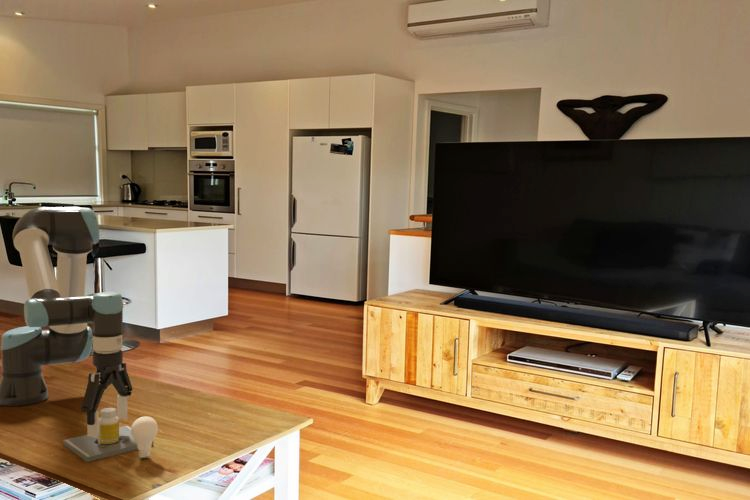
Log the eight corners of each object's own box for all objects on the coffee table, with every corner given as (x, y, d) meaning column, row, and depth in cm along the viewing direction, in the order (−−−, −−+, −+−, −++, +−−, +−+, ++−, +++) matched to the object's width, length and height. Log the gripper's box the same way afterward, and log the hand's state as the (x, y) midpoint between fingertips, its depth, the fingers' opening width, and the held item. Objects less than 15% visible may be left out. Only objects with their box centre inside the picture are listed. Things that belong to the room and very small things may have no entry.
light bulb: (134, 453, 180) (134, 412, 179) (160, 453, 180) (160, 412, 179) (127, 463, 173) (127, 421, 172) (154, 463, 174) (154, 421, 173)
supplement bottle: (122, 444, 186) (122, 409, 185) (103, 450, 181) (103, 414, 181) (112, 439, 189) (112, 405, 188) (94, 444, 185) (93, 409, 184)
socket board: (63, 444, 185) (62, 439, 184) (127, 429, 197) (127, 425, 197) (87, 462, 173) (87, 457, 173) (153, 445, 186) (153, 440, 186)
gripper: (92, 362, 170) (92, 445, 172) (145, 341, 194) (145, 413, 196) (65, 360, 172) (66, 441, 174) (121, 339, 196) (121, 411, 198)
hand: (108, 427), depth 185 cm, fingers open, 13 cm apart
